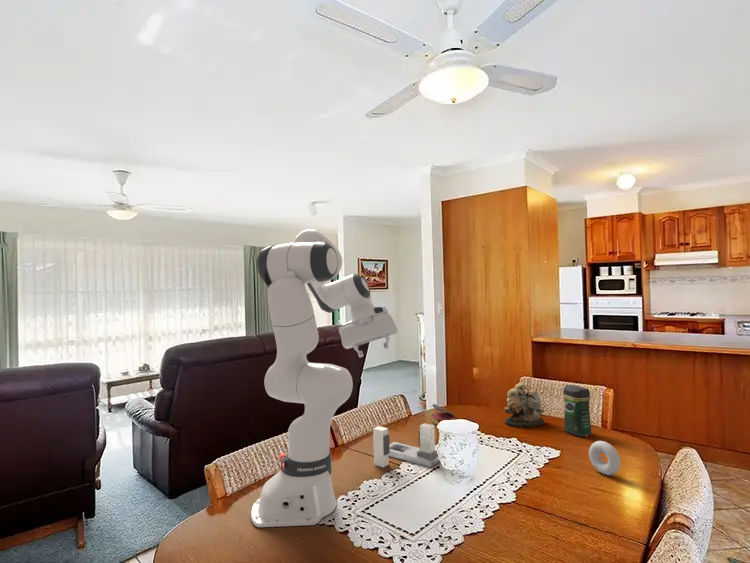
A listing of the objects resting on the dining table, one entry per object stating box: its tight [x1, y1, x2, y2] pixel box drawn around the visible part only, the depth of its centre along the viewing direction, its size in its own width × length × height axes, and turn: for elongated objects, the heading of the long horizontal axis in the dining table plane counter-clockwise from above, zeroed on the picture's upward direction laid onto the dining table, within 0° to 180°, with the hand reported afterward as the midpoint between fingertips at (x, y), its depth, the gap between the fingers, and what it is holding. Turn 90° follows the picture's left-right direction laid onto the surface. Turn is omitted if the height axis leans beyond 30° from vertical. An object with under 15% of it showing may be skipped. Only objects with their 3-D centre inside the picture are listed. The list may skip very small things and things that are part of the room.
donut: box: [588, 440, 621, 476], centre depth 131 cm, size 10×4×10 cm, turn 23°
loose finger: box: [372, 425, 390, 469], centre depth 141 cm, size 5×3×12 cm, turn 53°
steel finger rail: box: [389, 422, 440, 468], centre depth 147 cm, size 20×8×12 cm, turn 53°
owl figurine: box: [503, 382, 545, 428], centre depth 181 cm, size 18×12×17 cm, turn 103°
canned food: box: [431, 403, 456, 426], centre depth 184 cm, size 11×10×10 cm
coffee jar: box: [562, 384, 592, 437], centre depth 167 cm, size 10×8×19 cm
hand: (374, 352), depth 148 cm, fingers open, 8 cm apart
